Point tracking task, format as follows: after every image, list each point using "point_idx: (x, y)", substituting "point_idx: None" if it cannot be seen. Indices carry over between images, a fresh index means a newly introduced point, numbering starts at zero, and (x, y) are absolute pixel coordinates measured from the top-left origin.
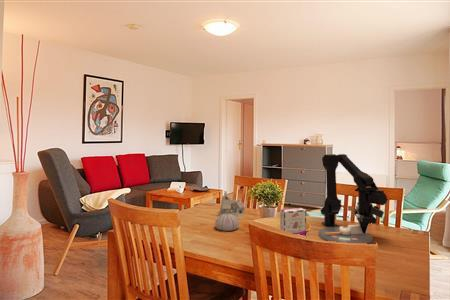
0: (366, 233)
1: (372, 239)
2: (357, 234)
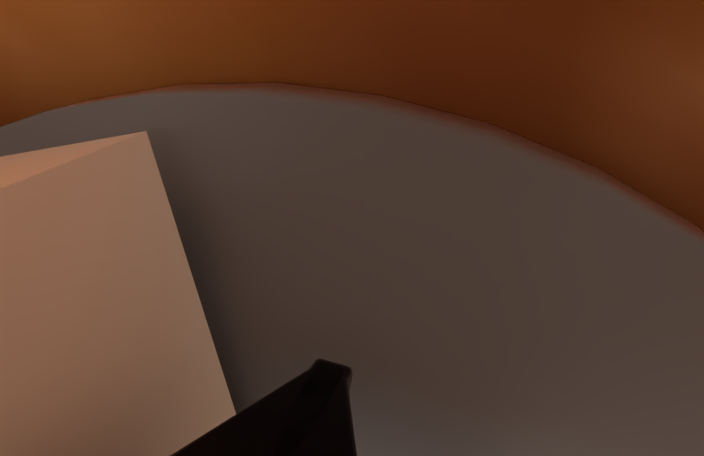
0: None
1: (617, 186)
2: None
